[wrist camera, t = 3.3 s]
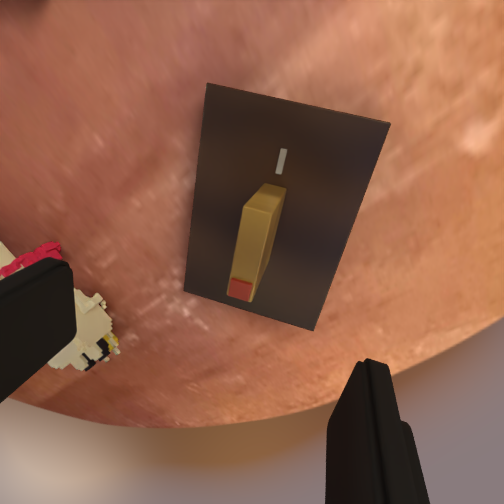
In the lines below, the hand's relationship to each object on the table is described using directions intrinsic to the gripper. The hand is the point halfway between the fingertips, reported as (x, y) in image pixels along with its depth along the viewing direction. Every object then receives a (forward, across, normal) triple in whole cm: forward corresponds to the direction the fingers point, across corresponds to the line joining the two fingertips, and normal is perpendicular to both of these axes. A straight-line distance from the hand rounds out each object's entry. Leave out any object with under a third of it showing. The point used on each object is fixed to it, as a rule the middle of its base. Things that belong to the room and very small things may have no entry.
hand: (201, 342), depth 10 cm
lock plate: (+13, 0, 0) cm, 13 cm away
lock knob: (+11, 0, 0) cm, 11 cm away
